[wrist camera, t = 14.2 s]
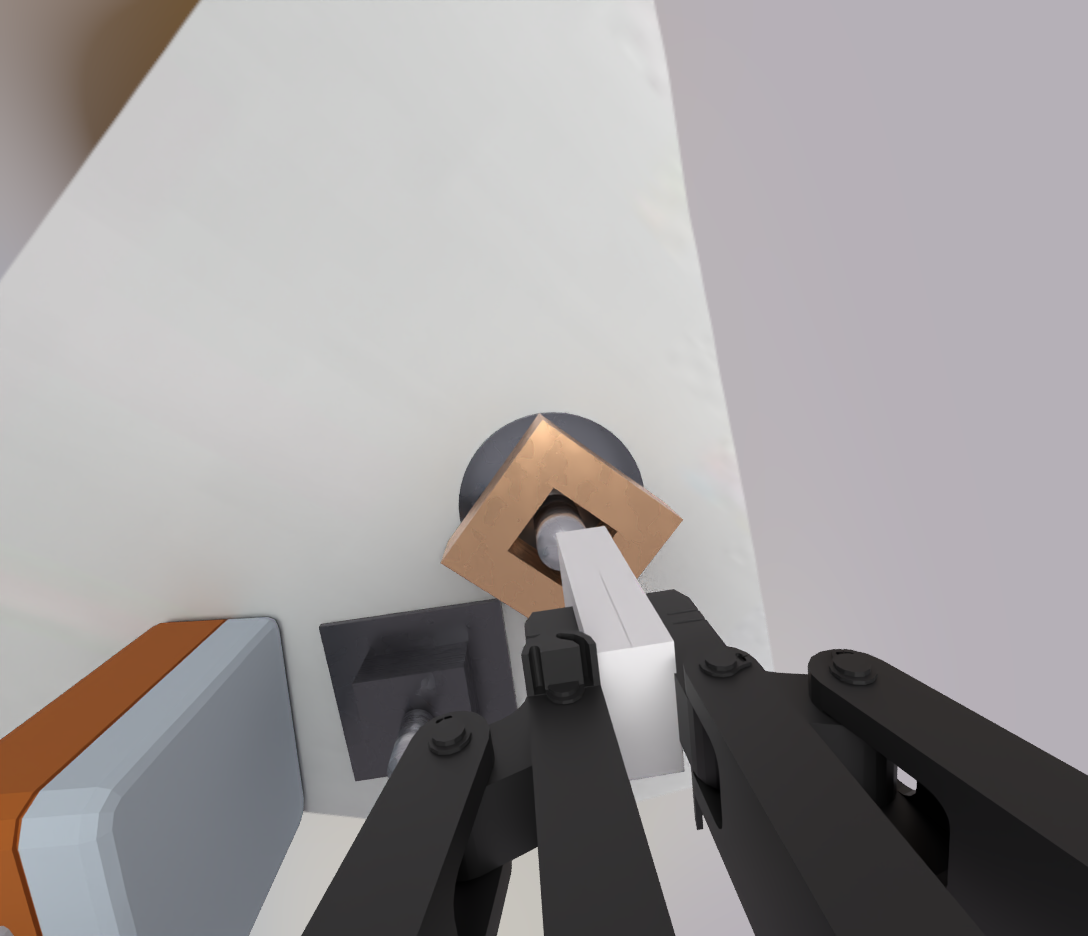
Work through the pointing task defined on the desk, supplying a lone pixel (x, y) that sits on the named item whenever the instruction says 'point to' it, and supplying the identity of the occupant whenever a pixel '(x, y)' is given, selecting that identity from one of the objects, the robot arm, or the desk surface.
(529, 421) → the hub
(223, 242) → the desk surface
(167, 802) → the grey rounded upright slab
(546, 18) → the desk surface
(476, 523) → the brown square ring block
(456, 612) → the stand
